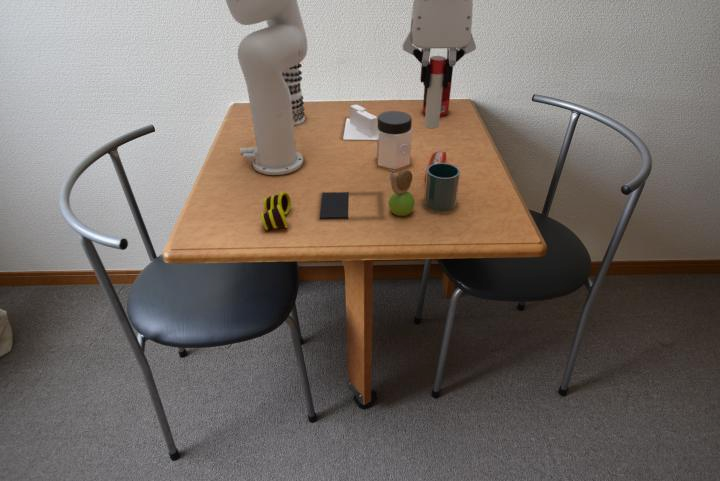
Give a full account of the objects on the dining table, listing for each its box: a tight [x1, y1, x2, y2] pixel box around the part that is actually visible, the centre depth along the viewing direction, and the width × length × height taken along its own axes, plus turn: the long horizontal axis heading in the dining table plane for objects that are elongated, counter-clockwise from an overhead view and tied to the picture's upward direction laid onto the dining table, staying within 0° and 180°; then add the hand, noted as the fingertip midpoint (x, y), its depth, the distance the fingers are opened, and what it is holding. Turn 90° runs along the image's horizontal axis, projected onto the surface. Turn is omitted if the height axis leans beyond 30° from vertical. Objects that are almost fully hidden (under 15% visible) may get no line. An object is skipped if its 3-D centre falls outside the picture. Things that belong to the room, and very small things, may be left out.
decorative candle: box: [282, 62, 306, 126], centre depth 135 cm, size 9×9×25 cm
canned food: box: [422, 81, 452, 118], centre depth 142 cm, size 8×8×11 cm
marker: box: [424, 55, 447, 130], centre depth 89 cm, size 3×3×13 cm
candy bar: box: [424, 150, 447, 185], centre depth 114 cm, size 16×4×3 cm, turn 165°
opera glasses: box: [260, 190, 292, 231], centre depth 99 cm, size 10×5×5 cm, turn 2°
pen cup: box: [423, 162, 461, 212], centre depth 102 cm, size 7×7×8 cm
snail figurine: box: [388, 168, 416, 217], centre depth 97 cm, size 5×6×12 cm
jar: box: [376, 110, 413, 170], centre depth 116 cm, size 9×8×12 cm
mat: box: [319, 191, 350, 220], centre depth 104 cm, size 13×10×1 cm
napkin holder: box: [342, 103, 378, 141], centre depth 135 cm, size 15×11×6 cm
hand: (435, 85), depth 88 cm, fingers closed on marker, 2 cm apart
